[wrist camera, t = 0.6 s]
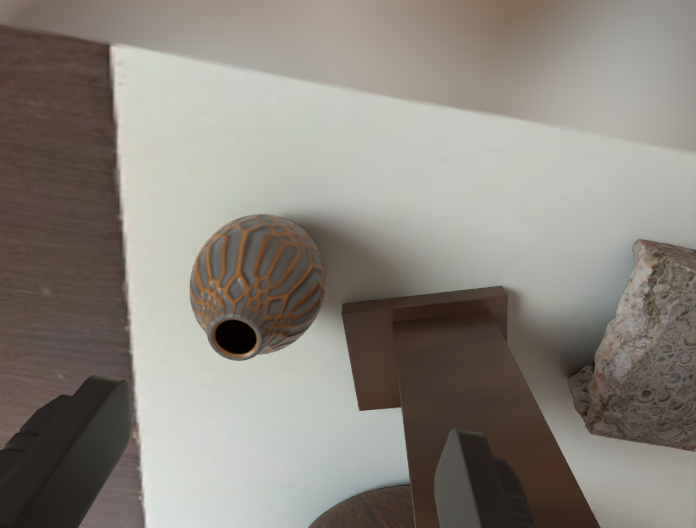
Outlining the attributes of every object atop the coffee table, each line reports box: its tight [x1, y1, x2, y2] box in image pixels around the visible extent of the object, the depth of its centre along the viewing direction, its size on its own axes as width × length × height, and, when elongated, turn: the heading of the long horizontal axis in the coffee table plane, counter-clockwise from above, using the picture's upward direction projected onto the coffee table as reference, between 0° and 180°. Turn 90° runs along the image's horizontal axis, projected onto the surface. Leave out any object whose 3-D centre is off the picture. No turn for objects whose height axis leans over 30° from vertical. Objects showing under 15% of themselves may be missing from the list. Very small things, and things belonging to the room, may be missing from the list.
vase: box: [190, 214, 326, 361], centre depth 22 cm, size 7×7×9 cm
